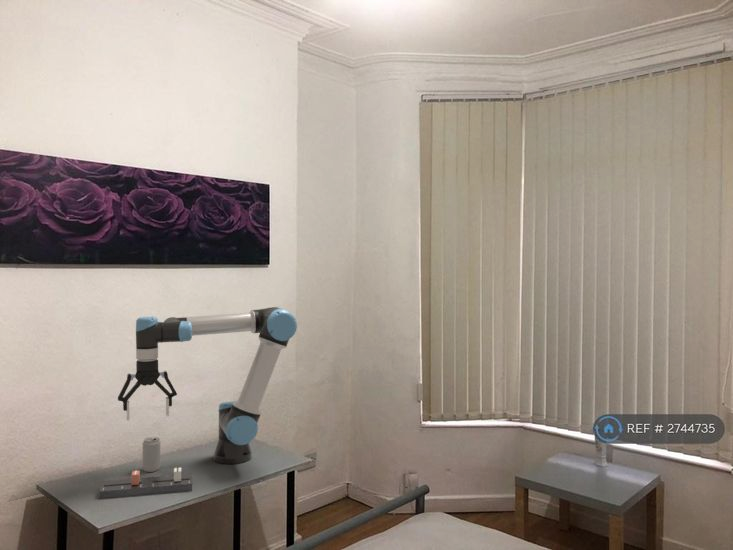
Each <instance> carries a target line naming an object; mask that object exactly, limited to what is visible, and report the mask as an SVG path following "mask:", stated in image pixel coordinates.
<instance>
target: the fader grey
mask: <svg viewBox="0 0 733 550" xmlns="http://www.w3.org/2000/svg"><path fill="white" fill-rule="evenodd" d="M173 475H174V482H176V481H181V475H182V467H178V466H177V467H174V468H173Z"/></svg>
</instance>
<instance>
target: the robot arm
mask: <svg viewBox="0 0 733 550" xmlns="http://www.w3.org/2000/svg"><path fill="white" fill-rule="evenodd" d="M135 322H136V323H135V348H136V349H135V353H136V354H135V355H136V356H135V357H136V358H135V359H136V362H135V363H136V372H135V374H133V373H127V374H126V381H125V382H124V385H123V387H122V389H121V391H120V392H119V394H118V396H117V401H119V402H122V404H123V405H122V407H123V408H122V410H123V411H124V412H126V420H127V421H130V401H129V399H130V398H131V397H132V396H133V395H134V393H135V392H136V391H137V390H138V389H139V387H140V386H144V387H146V386H153V385H156V386H157V387H158V388H159V389H160V390H161V391H162V393H164V394H165V395H166V397H165V415H166V417H169V416H170V407H172V406H173V397H175V396H177V395H178V393H177V391H176V389H175V388H174V387H175V386H173V384H172V382H171V380H170V378H169V375H168V372H167V370H164V371H159V359H158V358H159V343H183V342H190V341H191V340H192V337H193V336H206V335H207V336H208V335H216V334H230V333H231V334H233V333H243V332H250V333H252V334H259V335H258V339H259V342H260V343H259V345H258V348H257V351H256V354H255V356H254V358H253V360H252V362H251V363H252V364H251V366H250V369H249V371H248V374H247V377H246V379H245V381H244V384H243V387H242V390H241V391H240V394H239V398H238V399H237V400H236V401H235V400H232V401H225V402H221V403H219V405H218V440H217V443H216V446H215V449H214V453H213V460H214V462H216V463H219V464H226V465H236V464H242V463H245V462H248V461H249V460H251V459H252V457H253V454H252V453H253V452H252V448H251V445H250V443H252V442H253V440H255V438H256V437H257V435H258V430H259V425H258V423H259V420H260V417H261V415H262V411H261V409H260V406H261V403H262V401H263V399H264V396H265V393H266V390H267V388H268V386H269V383H270V380H271V377H272V375H273V372H274V369H275V367H276V364H277V362H278V359H279V356H280V355H281V354H280V353H281V351H282V350H284V349H285V348H287V345H288V343H289V341H290V339H291V338H293V337H294V335H296V332H297V328H298V322H297V320H296V317H295V316H294V315H293V313H292V312H291V311H289V310H287V309H284V308H280V307H277V306H275V307H274V306H273V307H267V308H260V309H258V308H257V309H251V310H250V311H249V312H243V313H242V312H241V313H227V314H226V313H225V314H212V315H210V314H209V315H199V316H186V317H183V316H182V317H174V316H172V317H168V318H165V320H164V321H159V319H158V317H157V316H142V317H141V316H140V317H138V318H137V319H136V321H135ZM160 377H161V378H163V379H164V380H165V382H166V384H167V385H168V387H169V389H170V391H171V392H170V391H169V390H167V388H166V387H165V386H164V385H162V383H161V382H160V380H159V378H160ZM134 378H135V379H136V380H137V381H136V382H135V384H134V385H133V386H132V387H131V389H130V390H129V391H128V392H127V390H128V388H129V386H130V384H131V382H132V381H134ZM126 392H127V393H126ZM125 393H126V394H125Z"/></svg>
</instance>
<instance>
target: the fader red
mask: <svg viewBox="0 0 733 550" xmlns="http://www.w3.org/2000/svg"><path fill="white" fill-rule="evenodd" d="M140 473H141V471H140V470H132V471H131V478H130V479H131V485H139V481H140V478H141V477H140V476H141V474H140Z"/></svg>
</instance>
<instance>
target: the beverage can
mask: <svg viewBox="0 0 733 550" xmlns="http://www.w3.org/2000/svg"><path fill="white" fill-rule="evenodd" d="M159 469H161V440H160V437H157V436H150V437H146V438H144V439H143V441H142V470H143V471H144V472H145V473H153V472H157V471H159Z"/></svg>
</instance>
